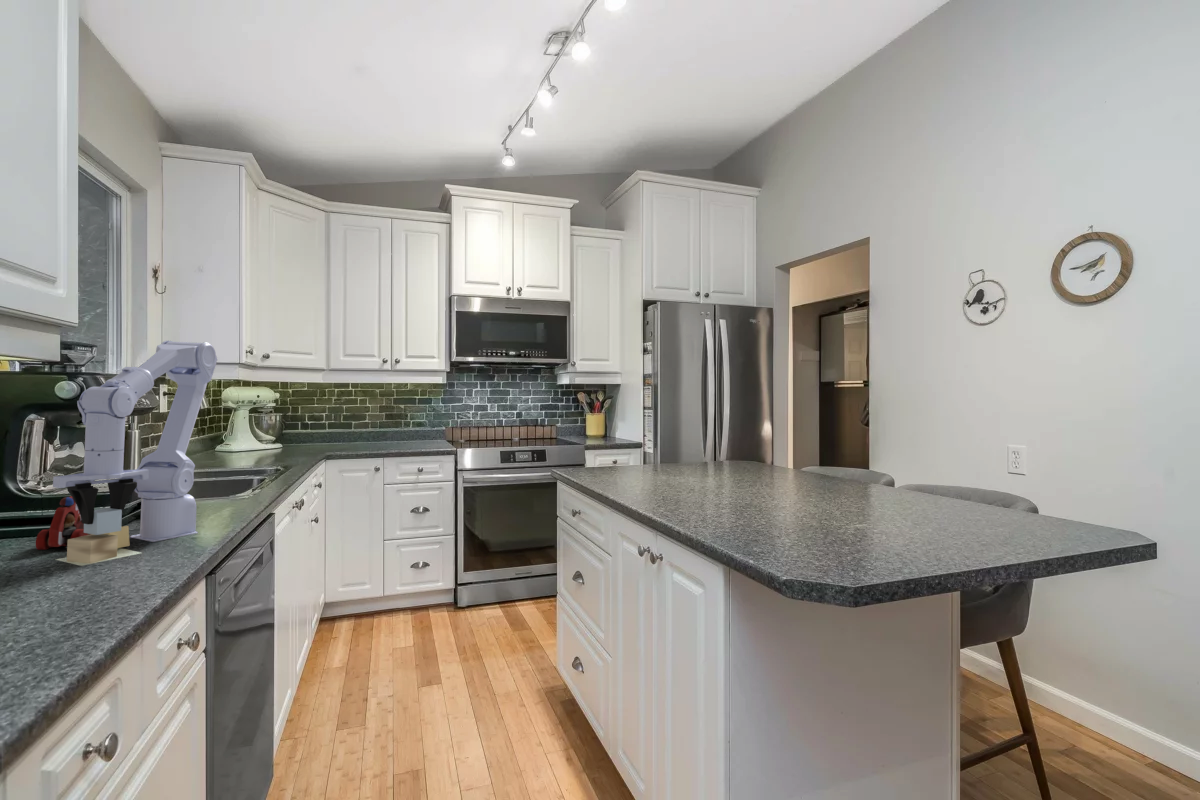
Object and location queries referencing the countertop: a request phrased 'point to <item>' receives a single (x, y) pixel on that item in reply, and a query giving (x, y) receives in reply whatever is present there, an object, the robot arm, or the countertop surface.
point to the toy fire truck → (62, 526)
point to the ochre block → (122, 536)
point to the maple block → (92, 548)
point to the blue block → (104, 521)
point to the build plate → (120, 554)
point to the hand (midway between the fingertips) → (101, 521)
